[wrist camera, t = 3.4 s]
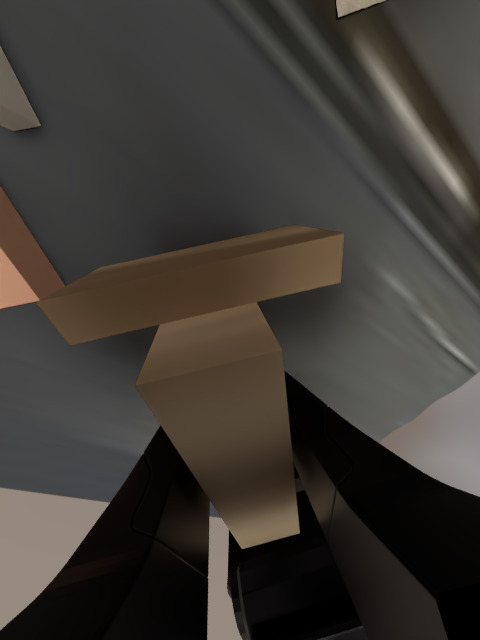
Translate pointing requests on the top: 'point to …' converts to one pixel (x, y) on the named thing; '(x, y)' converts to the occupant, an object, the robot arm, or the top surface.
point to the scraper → (214, 359)
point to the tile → (22, 261)
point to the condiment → (353, 5)
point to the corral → (14, 100)
